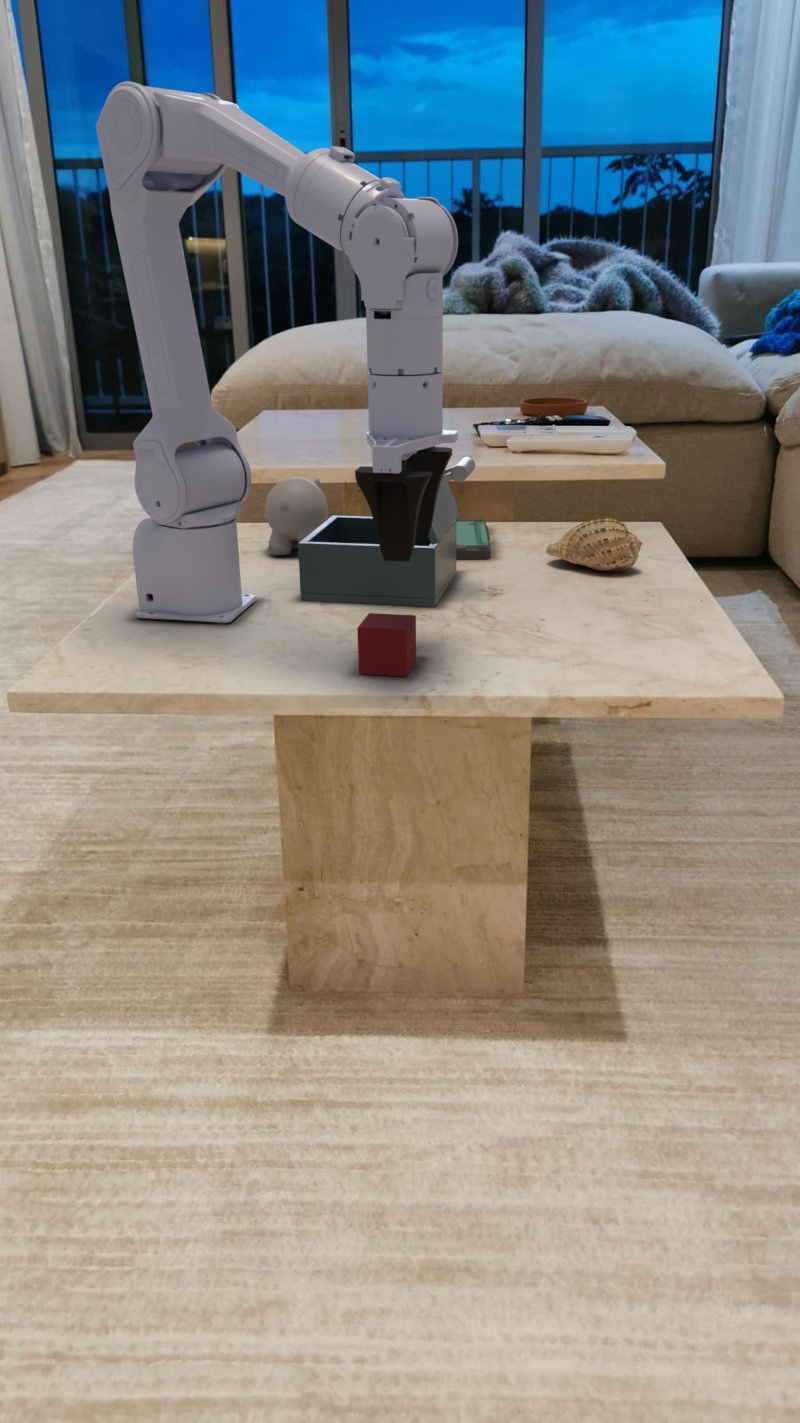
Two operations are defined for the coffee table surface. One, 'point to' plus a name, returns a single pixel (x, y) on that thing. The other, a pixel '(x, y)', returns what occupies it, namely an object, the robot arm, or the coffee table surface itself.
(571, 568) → the coffee table surface
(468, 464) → the lid
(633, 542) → the seashell
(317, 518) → the chubby cartoon animal
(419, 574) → the grey-green open box
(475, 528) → the smartphone
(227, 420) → the robot arm
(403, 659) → the block
